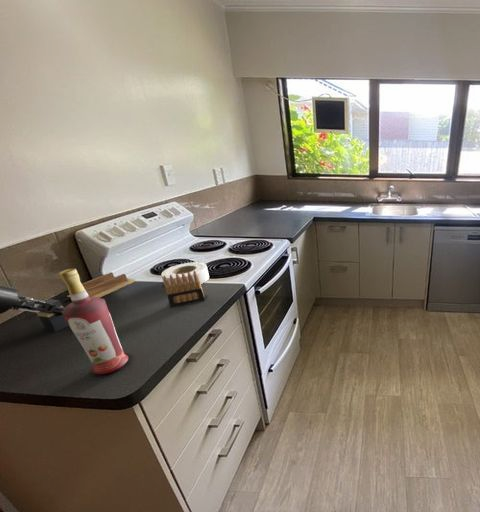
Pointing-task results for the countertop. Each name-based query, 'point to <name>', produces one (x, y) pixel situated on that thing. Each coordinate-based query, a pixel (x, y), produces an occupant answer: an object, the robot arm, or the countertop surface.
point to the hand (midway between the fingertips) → (59, 310)
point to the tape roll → (185, 268)
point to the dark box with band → (53, 318)
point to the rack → (105, 284)
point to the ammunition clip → (184, 290)
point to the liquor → (92, 326)
